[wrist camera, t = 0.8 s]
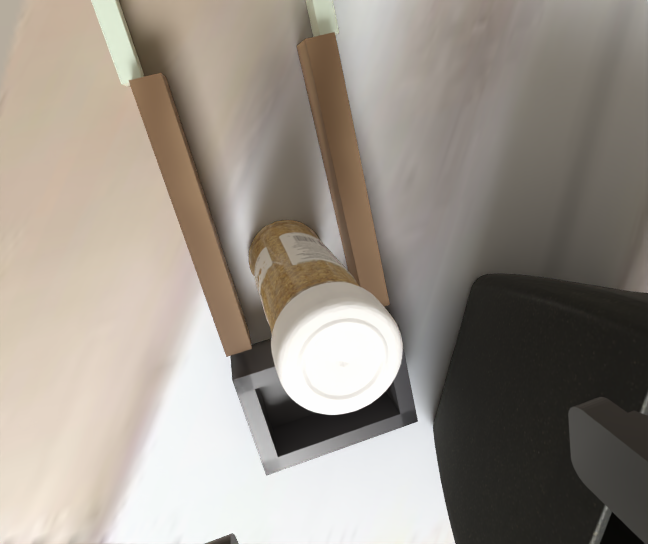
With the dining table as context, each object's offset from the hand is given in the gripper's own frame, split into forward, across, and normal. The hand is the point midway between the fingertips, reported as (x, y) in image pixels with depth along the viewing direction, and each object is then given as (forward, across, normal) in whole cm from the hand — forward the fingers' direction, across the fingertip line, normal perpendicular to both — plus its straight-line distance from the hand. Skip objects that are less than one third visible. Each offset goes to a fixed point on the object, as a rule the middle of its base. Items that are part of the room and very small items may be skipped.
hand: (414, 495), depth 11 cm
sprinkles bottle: (+20, 0, 0) cm, 20 cm away
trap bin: (+19, 0, +8) cm, 21 cm away
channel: (+19, 0, -4) cm, 20 cm away
